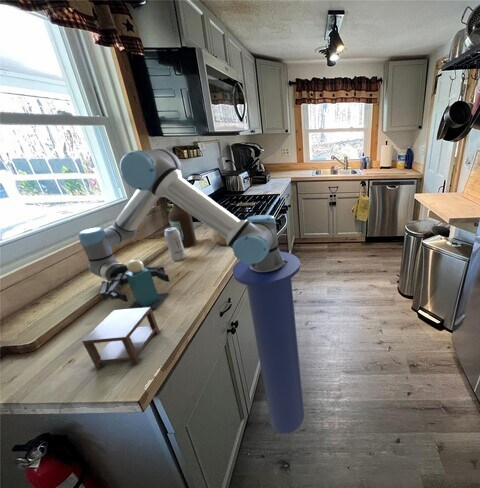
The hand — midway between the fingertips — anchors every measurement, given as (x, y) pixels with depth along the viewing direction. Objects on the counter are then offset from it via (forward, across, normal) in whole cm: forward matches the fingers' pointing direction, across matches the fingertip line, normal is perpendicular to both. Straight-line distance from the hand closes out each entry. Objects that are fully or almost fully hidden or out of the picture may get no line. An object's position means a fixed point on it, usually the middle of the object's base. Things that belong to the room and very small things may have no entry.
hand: (147, 287), depth 87 cm
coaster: (-3, 0, -7) cm, 8 cm away
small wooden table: (+14, +14, -7) cm, 22 cm away
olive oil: (-41, -39, -7) cm, 57 cm away
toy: (-3, 0, -7) cm, 7 cm away
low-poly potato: (-23, -51, -7) cm, 57 cm away
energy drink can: (-28, -27, -7) cm, 39 cm away
